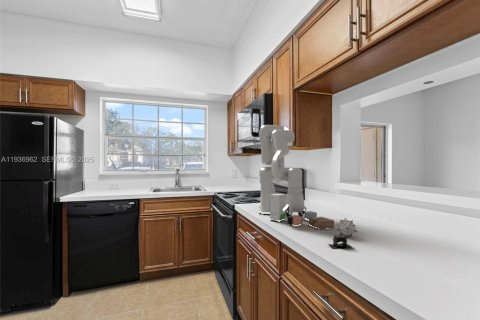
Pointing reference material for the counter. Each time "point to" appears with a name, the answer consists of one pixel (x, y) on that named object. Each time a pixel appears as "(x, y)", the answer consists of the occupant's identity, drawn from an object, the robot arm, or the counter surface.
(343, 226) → the grey spiked ball
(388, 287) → the counter surface
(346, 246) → the black bracket block
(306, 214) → the slate grey cube
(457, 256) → the counter surface
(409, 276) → the counter surface
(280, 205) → the skincare box
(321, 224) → the walnut block
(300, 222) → the terracotta cube
